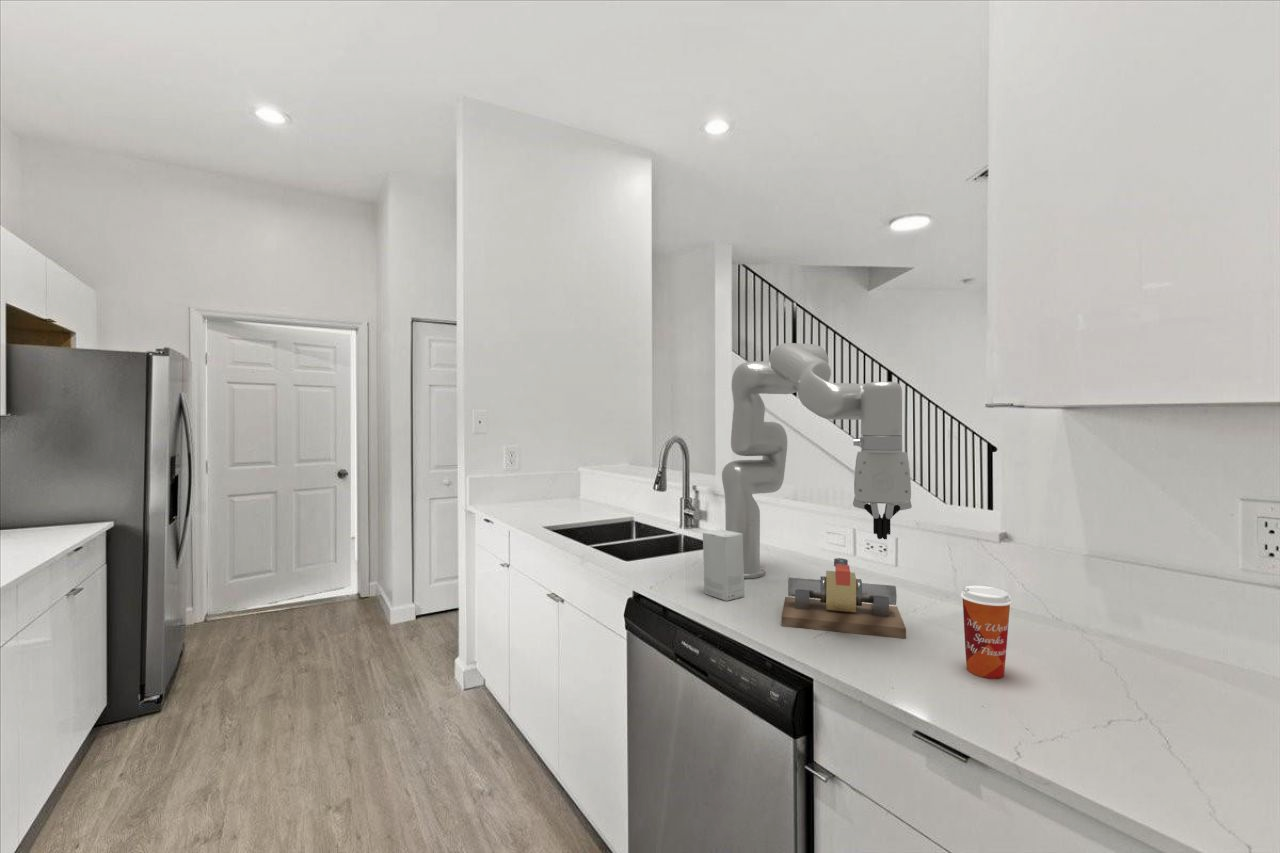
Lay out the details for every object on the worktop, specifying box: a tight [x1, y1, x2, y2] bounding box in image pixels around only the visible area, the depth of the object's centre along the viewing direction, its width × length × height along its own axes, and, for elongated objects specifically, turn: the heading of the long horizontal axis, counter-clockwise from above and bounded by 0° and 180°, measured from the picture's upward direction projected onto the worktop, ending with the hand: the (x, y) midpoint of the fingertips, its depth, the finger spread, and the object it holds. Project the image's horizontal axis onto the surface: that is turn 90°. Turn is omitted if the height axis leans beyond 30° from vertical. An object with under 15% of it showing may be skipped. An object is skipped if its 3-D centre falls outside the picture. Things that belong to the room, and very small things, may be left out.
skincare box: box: [702, 528, 745, 602], centre depth 145 cm, size 8×7×16 cm
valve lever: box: [833, 557, 851, 586], centre depth 123 cm, size 14×3×3 cm, turn 163°
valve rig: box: [781, 570, 907, 639], centre depth 127 cm, size 24×14×11 cm, turn 73°
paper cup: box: [960, 585, 1014, 680], centre depth 102 cm, size 8×8×14 cm
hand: (881, 537), depth 116 cm, fingers closed
